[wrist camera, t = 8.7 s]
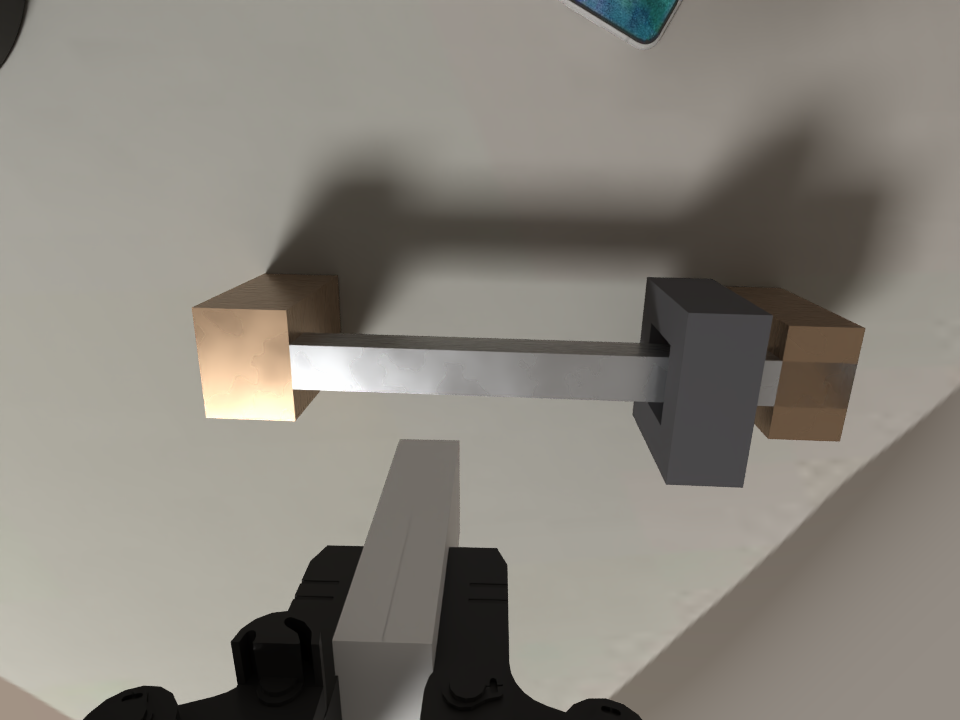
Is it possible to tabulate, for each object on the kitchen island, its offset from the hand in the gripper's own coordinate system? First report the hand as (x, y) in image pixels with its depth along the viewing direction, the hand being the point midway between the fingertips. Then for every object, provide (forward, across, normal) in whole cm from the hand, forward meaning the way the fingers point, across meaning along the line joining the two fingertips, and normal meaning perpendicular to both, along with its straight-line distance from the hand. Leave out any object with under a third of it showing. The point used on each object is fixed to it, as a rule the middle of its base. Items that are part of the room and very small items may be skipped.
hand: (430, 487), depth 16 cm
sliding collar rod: (+19, +3, -1) cm, 19 cm away
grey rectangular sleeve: (+15, +10, -1) cm, 18 cm away
